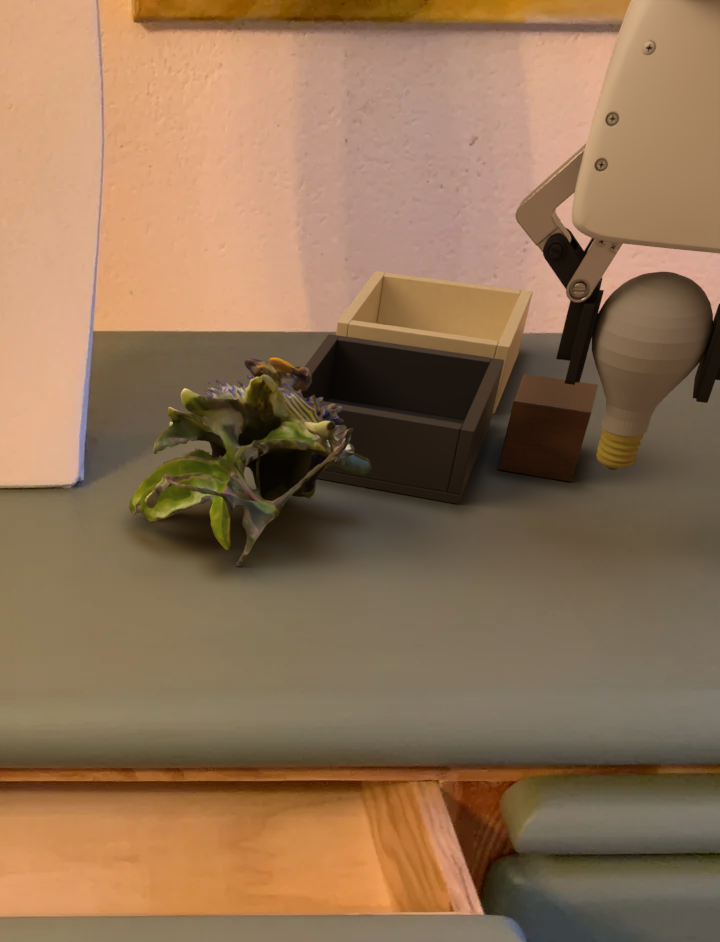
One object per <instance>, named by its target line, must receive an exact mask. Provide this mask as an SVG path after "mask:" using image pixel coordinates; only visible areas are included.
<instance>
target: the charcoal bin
mask: <svg viewBox="0 0 720 942" xmlns="http://www.w3.org/2000/svg"><path fill="white" fill-rule="evenodd" d="M503 364H504V360H502V359H495V358H489V357H483V356H476V355H469V354H462V353H455V352H448V351H442V350H435V349H428V348H421V347H414V346H407V345H401V344H394V343H387V342H380V341H373V340H366V339H360V338H353V337H346V336H338V335H336V334H331V333H328V334H327V336H326V337H325V338H324V339H323V341H322V342H321V343H320V344H319V346H318V348H317V349H316V350H315V351H314V353H313V354H312V356H311V357H310V358H309V359H308V361H307V362H306V364H305V365H304V366H303V367H305V368H308V369H309V370H310V372H311V376H312V383H311V385H310V386H309V387H308V390H306V391H301V392H302V396H303V398H304V399H305V400H307V398H309V397H311V396H312V395H313V394H314V395H315V397H316V399H317V398H319V397H323V401H322V402H321V407H322V406H327V405H329V404H332V403H334V404H336V405H337V407H338V406H341V407H342V408H343V410H342V411H341V412H340V413H338V414H337V415H338V417H339V418H341V419H342V420H343V421H344V422H343V423H336V424H335V425H345V426H346V427H347V430H348V429H350V428H352V429H353V431H352V433H351V440H350V441H349V443H350V444H351V445H353V447H354V449H355V451H354V452H355V453H357V454H359V455H360V456H362V457H365V458H368V459H369V461H370V463H371V470H370V471H369V472H368V473H367V474H365V475H357V474H353V473H351V472H348V471H346V470H344V469H342V468H340V467H338V466H334V465H333V466H329V467H328V468H326V469H325V470H324V471H322V472H321V474H320V475H319V476H318V477H317V479H319V480H324V481H329V482H336V483H340V484H347V485H352V486H357V487H363V488H367V489H373V490H380V491H385V492H390V493H395V494H401V495H406V496H411V497H418V498H424V499H428V500H433V501H434V500H435V501H439V502H445V503H451V504H456V505H459V504H460V501H461V499H462V497H463V494H464V492H465V489H466V487H467V484H468V481H469V479H470V476H471V474H472V471H473V469H474V466H475V464H476V462H477V459H478V457H479V453H480V451H481V449H482V446H483V444H484V442H485V439H486V436H487V434H488V432H489V429H490V425H491V421H492V417H493V414H492V412H493V408H494V403H495V399H496V395H497V390H498V386H499V382H500V377H501V373H502V368H503Z"/></svg>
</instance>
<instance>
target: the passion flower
mask: <svg viewBox="0 0 720 942" xmlns="http://www.w3.org/2000/svg"><path fill="white" fill-rule="evenodd" d="M243 364H244V366H245V368H246V369H247V370H248V371H249V373H250V374H251V375H246V377H247V380H248V382H249V383H248V386H247V387H246V385H244V383H242V381H240V380H239V379H238V380H237V383H238V385H239V386H240V387H238V386H237V385H235V384H233V385H232V386H231V385H230V384H229V382H227V381H224V384H223V383H221V382H220V381H219V379H215V382H216V384H217V385H218V386H219V388H218V387H216V386H214V387H213V386H210V387H207V388H206V389H207V390H204V393H206V394H207V395H208V396H207V395H206V396H205V395H202V394H198V393H196V392H194V391H192V390H190V389H189V388H185V387H184V388H183V389H182V390H181V392H180V401H181V404H182V405H183V407H184V408H185V410H186V411H188V412H183V411H180V410H179V409H175V408H173V407H172V406H167V413H166V414H167V416H168V417H169V418H170V419H171V421H170V422H169V424H168V428H166V429H165V430H163V431H162V432H161V434H159V436H158V438H157V439H156V440H155V442H154V444H153V449H152V454H153V455H157V454H158V452H162V451H164V450H166V448H171V449H172V448H173V447H175V446H179V445H187V443H188V442H194V441H195V442H196V441H197V442H199V441H200V442H201V441H202V442H207V443H209V445H210V448H211V454H210V452H209V451H206V450H204V449H200V448H197V447H195V448H194V450H191V451H189V452H186V453H184V454H183V455H182V456H178V455H177V456H175V457H173V458H171V459H169V460H167V461H164V462H163V463H162V464H160V465H159V466H158V467H157V468H156V469H155V470H154V471H153V472H151V473H150V475H149V476H148V477H143V480H142V481H141V483H140V484H139V486H137V488H136V490H135V491H134V493H133V495H132V496H131V498H130V499H129V503H128V511H129V512H130V513H131V514H132V515H133V516H135V515H137V514H141V515H142V516H143V517H144V519H145V520H146V521H147V522H150V523H153V522H157V521H161V520H165V519H168V518H170V517H171V516H174V515H175V514H179V513H181V512H183V511H186V510H189V509H191V508H192V509H193V508H195V507H196V506H198V505H205V504H206V503H207V502H210V501H211V505H210V509H209V518H210V526H211V529H212V533H213V535H214V537H215V539H216V540H217V542H218V543H219V544H220V545H221V546H222V548H223V549H224V550H226V551H229V550H230V549H231V546H232V542H231V518H232V512H233V510H234V509H235V507H236V506H238V505H241V506H242V508H243V517H242V521H241V523H242V527H243V528H244V530H245V533H246V541H245V544H244V548H243V551H242V554H241V555H240V556H239V558H238V560H237V561H236V563H235V566H239V567H240V566H242V564H243V562H244V560H245V559H246V558H247V556H248V555H249V553H250V552H251V550H252V549H253V546H254V544H255V543H256V541H257V539H258V538H259V537H260V535H261V534H262V532H263V531H264V529H266V526H267V525H268V524H269V523H270V522H272V521H273V520H275V519H276V518H278V517H279V516H280V514H281V511H282V510H283V507H284V506H285V504H286V503H287V501H288V500H289V499H290V498H291V497H294V498H295V497H297V498H306V499H311V498H312V497H313V496H314V495H315V492H316V485H317V482H316V481H317V479H318V478H317V477H318V476H319V475H320V474H321V472H322V471H324V470H325V469H326V468H328V467H329V466H333V465H334V466H338V467H340V468H342V469H344V470H346V471H348V472H351V473H353V474H357V475H365V474H367V473H368V472H369V471H370V470H371V463H370V461H369V459H368V458H365V457H362V456H360V455H359V454H357V453H355V452H354V451H355V449H354V447H353V445H351V444H350V443H349V441H350V440H351V433H352V431H353V429H352V428H350V429H348V430H347V427H346V426H345V425H335V424H336V423H343V422H344V421H343V420H342V419H341V418H339V417H338V415H337V414H338V413H340V412H341V411H342V410H343V408H342V407H341V406H338V407H337V405H336V404H334V403H332V404H329V405H327V406H322V407H321V402H322V401H323V397H319V398H317V399H316V397H315V395H314V394H313V395H312V396H311V397H309V398H307V400H305V399H304V398H303V396H302V392H301V391H306V390H308V387H309V386H310V385H311V383H312V376H311V372H310V370H309V369H308V368H305V367H304V366H293V365H292V364H291V363H289V362H288V361H286V360H285V359H281V358H280V357H270V358H269V360H268V362H267V361H266V360H260V359H256V358H254V357H253V358H252V357H247V358H246V359H245V360H244V363H243ZM207 384H208V385H210V384H211V383H210V382H207ZM246 468H248V469H250V472H251V473H252V477H253V481H254V486H255V489H252V488H251V487H250V486H249V484H248V483H247V481H246V477H245V470H246ZM235 492H239V493H242V494H245V495H246V496H248V497H249V498H250V499H247V500H246V499H243V498H241V497H239V496H238V495H237V494H236V493H235Z"/></svg>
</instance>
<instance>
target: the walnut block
mask: <svg viewBox="0 0 720 942" xmlns="http://www.w3.org/2000/svg"><path fill="white" fill-rule="evenodd" d="M564 383H565V379H562V378H556V377H548V376H542V375H535V374H528V373H524V374H523V375H522V378H521V381H520V383H519V386H518V389H517V392H516V393H515V394H516V395H515V397H514V399H513V402H512V407H511V411H510V415H509V420H508V423H507V427H506V432H505V436H504V439H503V440H504V441H503V445H502V448H501V453H500V458H499V461H498V465H497V470H499V471H505V472H510V473H511V472H512V473H516V474H523V475H529V476H533V477H540V478H544V479H550V480H551V479H552V480H556V481H563V482H568V483H571V482H572V481H573V478H574V474H575V471H576V467H577V464H578V461H579V458H580V453H581V450H582V447H583V443H584V440H585V436H586V434H587V433H586V432H587V429H588V426H589V423H590V420H591V419H590V418H591V416H592V412H593V408H594V404H595V399H596V395H597V391H598V387H599V384H596V383H590V382H589V383H588V382H582V381H580V383H578V382H575V385H572V384H564Z"/></svg>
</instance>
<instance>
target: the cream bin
mask: <svg viewBox="0 0 720 942" xmlns="http://www.w3.org/2000/svg"><path fill="white" fill-rule="evenodd" d="M532 297H533V290H532V291H531V290H525V289H518V288H517V289H516V288H510V287H501V286H495V285H494V286H493V285H485V284H479V283H470V282H462V281H457V280H456V281H455V280H447V279H439V278H432V277H424V276H417V275H416V276H415V275H409V274H408V275H407V274H400V273H393V272H385V271H379V270H375V271H374V272H373V273H372V275H371V276H370V278H369V279H368V281H367V282H366V283H365V284H364V285H363V287H362V289H361V290H360V291H359V292H358V294H357V295H356V297H355V298H354V299H353V301H351V303H350V305H349V306H348V308H347V309H346V310H345V311H344V313H343V314H342V315H341V317H340V318H339V319H338V320H337V322H336V330H335V335H338V336H346V337H353V338H360V339H366V340H373V341H380V342H387V343H394V344H401V345H407V346H414V347H421V348H428V349H435V350H442V351H448V352H455V353H462V354H469V355H476V356H483V357H489V358H495V359H502V360H504V364H503V368H502V373H501V377H500V382H499V386H498V390H497V395H496V399H495V403H494V408H493V412H492V415H493V414H496V411H497V408H498V406H499V404H500V401H501V399H502V396H503V393H504V391H505V388H506V387H507V384H508V381H509V378H510V376H511V374H512V371H513V368H514V366H515V363H516V361H517V358H518V356H519V352H520V348H521V344H522V340H523V335H524V332H525V328H526V322H527V319H528V314H529V310H530V306H531V302H532Z"/></svg>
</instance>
